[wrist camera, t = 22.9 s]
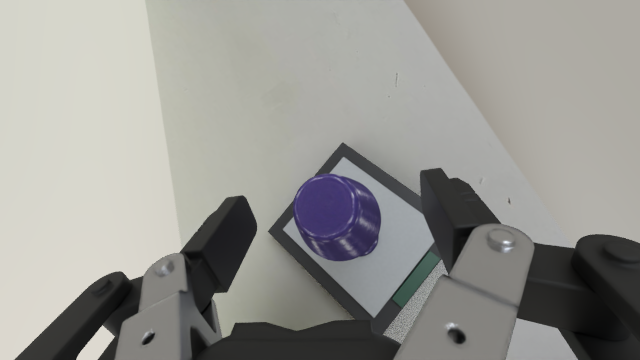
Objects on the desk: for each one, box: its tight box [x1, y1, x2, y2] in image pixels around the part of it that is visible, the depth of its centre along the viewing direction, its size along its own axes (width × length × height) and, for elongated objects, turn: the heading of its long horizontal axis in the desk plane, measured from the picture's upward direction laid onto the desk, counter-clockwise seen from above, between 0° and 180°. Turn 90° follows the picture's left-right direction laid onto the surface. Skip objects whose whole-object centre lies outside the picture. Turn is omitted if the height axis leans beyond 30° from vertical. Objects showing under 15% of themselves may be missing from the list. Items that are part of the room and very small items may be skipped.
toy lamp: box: [293, 174, 381, 261], centre depth 18 cm, size 5×5×17 cm
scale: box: [268, 143, 442, 334], centre depth 27 cm, size 16×14×3 cm
